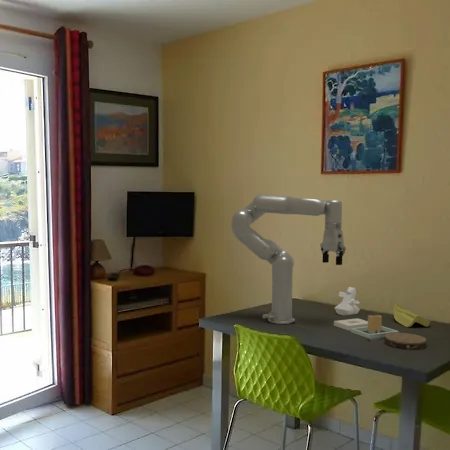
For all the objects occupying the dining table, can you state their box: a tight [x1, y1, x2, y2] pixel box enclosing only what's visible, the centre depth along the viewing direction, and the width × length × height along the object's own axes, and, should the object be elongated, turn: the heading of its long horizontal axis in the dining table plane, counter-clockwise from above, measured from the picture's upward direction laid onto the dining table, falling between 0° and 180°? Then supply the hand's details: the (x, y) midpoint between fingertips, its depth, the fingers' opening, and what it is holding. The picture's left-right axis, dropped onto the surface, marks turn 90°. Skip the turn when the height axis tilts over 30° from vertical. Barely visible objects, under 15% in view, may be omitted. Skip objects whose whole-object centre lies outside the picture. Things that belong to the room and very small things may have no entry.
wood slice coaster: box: [384, 332, 427, 351], centre depth 214 cm, size 16×16×3 cm
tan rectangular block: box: [367, 314, 383, 334], centre depth 227 cm, size 5×3×8 cm, turn 117°
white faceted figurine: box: [334, 286, 361, 316], centre depth 267 cm, size 8×14×14 cm, turn 36°
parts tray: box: [349, 325, 400, 342], centre depth 227 cm, size 16×12×2 cm
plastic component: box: [393, 303, 431, 328], centre depth 252 cm, size 20×7×10 cm
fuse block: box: [333, 317, 368, 331], centre depth 239 cm, size 14×10×3 cm
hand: (332, 263), depth 245 cm, fingers open, 9 cm apart
